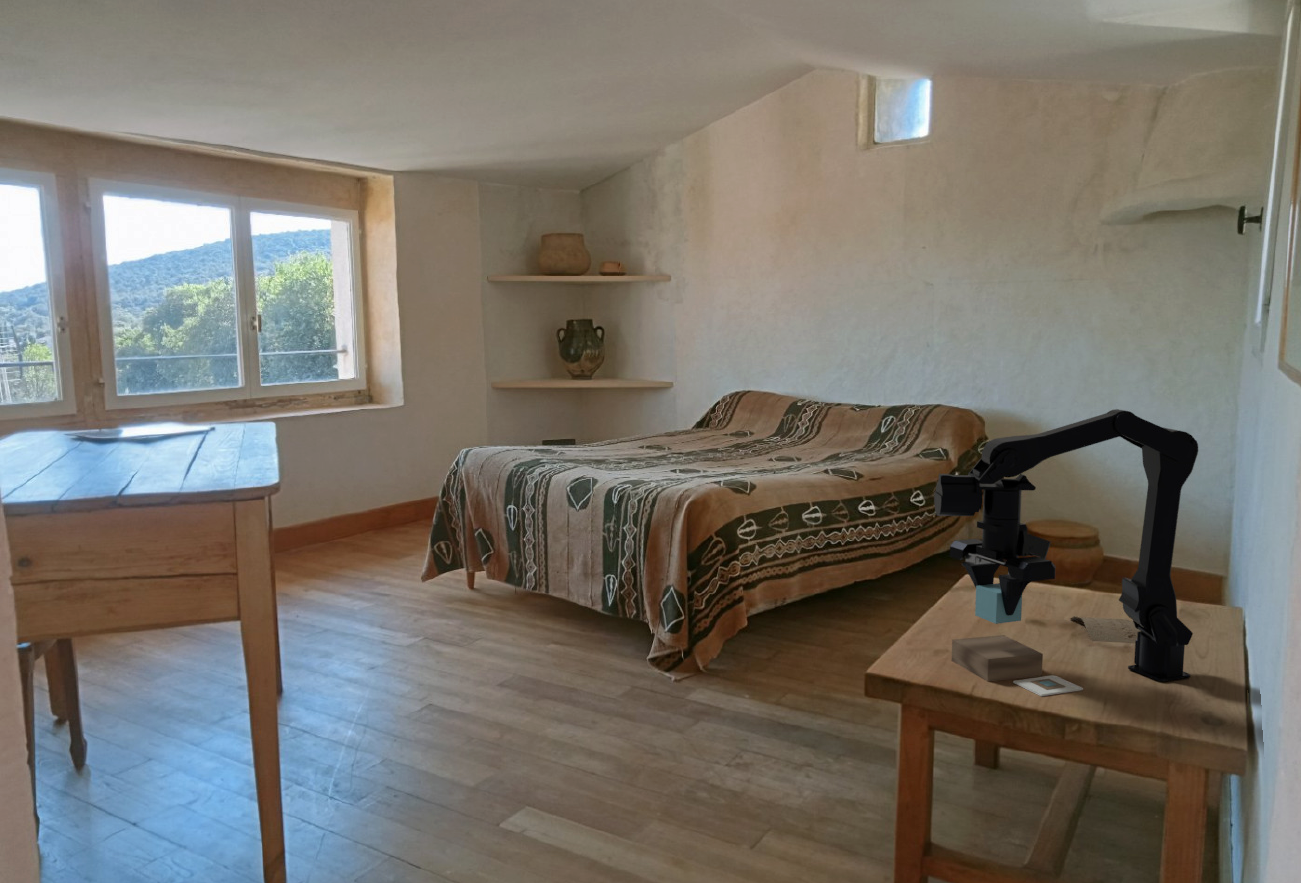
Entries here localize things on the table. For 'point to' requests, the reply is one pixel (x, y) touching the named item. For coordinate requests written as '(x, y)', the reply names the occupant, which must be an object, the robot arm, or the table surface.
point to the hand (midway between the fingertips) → (998, 610)
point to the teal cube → (994, 605)
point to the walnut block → (997, 658)
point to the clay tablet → (1109, 629)
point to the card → (1048, 685)
